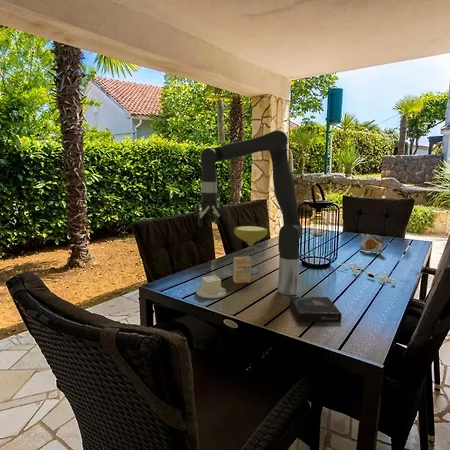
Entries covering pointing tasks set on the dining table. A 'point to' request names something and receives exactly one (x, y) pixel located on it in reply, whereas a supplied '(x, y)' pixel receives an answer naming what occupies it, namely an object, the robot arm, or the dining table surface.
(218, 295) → the duct stub
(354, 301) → the dining table surface
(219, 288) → the collar
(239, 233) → the cocktail glass
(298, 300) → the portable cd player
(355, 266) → the miniature set
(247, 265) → the supplement box
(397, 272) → the dining table surface
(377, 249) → the meal
